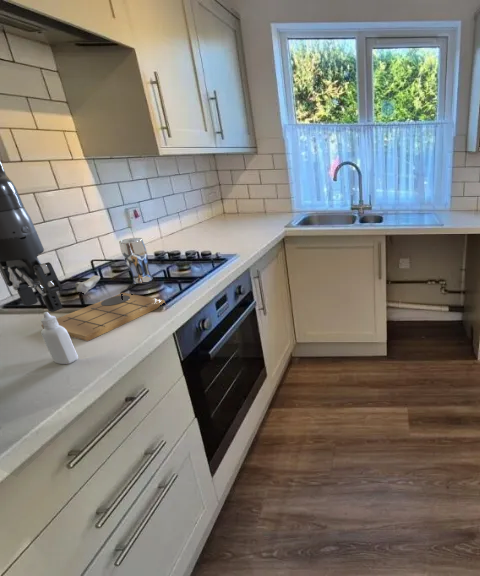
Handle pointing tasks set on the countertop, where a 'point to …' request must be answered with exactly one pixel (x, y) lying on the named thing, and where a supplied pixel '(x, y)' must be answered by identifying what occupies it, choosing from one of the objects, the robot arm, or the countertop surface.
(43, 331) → the eye dropper bottle
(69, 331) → the board
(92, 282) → the bone fragment
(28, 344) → the countertop surface
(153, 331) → the countertop surface
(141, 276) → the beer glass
